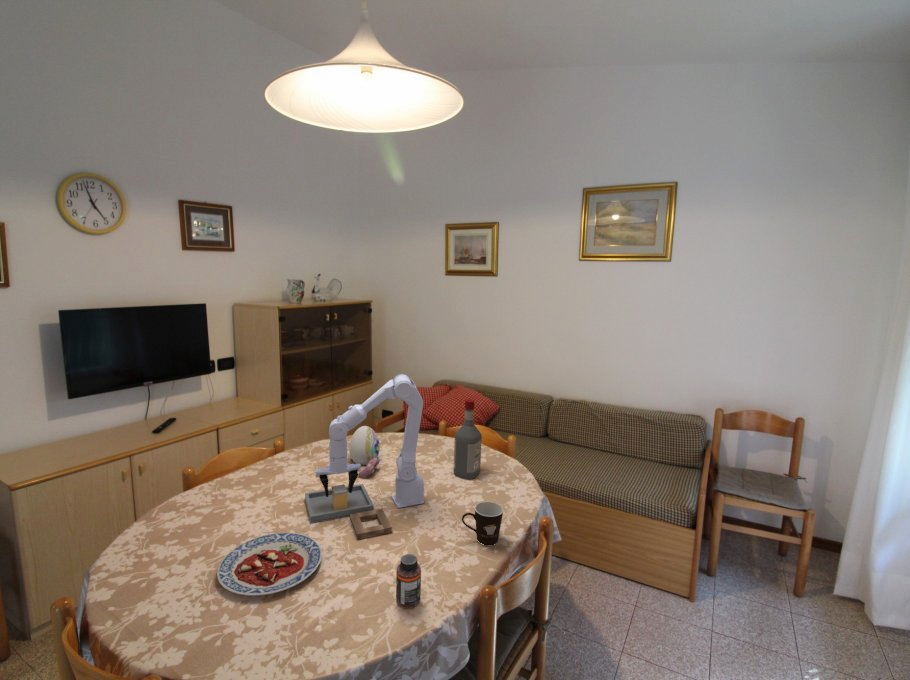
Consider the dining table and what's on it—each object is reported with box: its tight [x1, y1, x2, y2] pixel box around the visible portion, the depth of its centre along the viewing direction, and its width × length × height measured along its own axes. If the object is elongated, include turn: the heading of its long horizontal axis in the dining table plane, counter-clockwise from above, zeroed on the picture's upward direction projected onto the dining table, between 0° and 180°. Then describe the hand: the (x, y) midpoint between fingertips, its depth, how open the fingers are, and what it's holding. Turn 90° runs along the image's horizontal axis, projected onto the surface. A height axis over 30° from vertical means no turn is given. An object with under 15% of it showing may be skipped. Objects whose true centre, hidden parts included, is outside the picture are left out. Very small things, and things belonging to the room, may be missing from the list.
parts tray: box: [304, 483, 375, 524], centre depth 155 cm, size 20×16×2 cm
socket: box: [349, 508, 393, 541], centre depth 143 cm, size 11×12×2 cm
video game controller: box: [358, 457, 381, 479], centre depth 179 cm, size 10×5×7 cm, turn 169°
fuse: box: [331, 484, 348, 511], centre depth 152 cm, size 4×5×6 cm
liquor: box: [453, 398, 482, 480], centre depth 179 cm, size 9×9×30 cm
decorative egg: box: [348, 425, 381, 466], centre depth 189 cm, size 12×12×15 cm
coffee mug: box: [461, 500, 504, 546], centre depth 138 cm, size 12×9×10 cm
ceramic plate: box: [216, 532, 323, 597], centre depth 122 cm, size 26×26×3 cm
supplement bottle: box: [395, 553, 422, 609], centre depth 111 cm, size 6×6×11 cm
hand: (338, 493), depth 154 cm, fingers open, 7 cm apart
